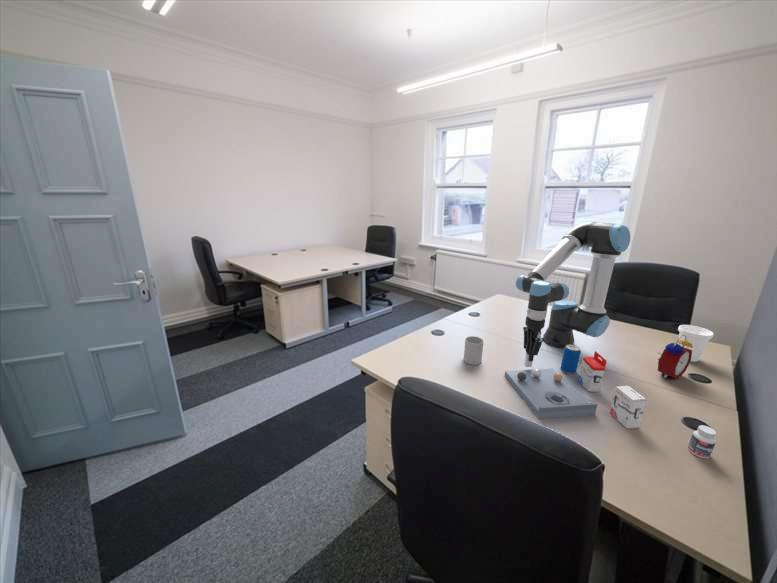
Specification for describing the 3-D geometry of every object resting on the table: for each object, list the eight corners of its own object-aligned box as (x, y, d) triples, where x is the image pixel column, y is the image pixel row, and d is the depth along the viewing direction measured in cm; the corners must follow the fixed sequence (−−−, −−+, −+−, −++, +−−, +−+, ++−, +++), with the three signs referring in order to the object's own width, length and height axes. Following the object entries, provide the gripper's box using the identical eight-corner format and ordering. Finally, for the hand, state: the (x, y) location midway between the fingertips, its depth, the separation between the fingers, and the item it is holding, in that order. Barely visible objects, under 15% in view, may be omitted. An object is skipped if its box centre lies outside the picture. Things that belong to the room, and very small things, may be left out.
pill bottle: (691, 456, 101) (700, 433, 98) (684, 444, 105) (692, 421, 102) (713, 461, 99) (722, 437, 96) (704, 448, 103) (713, 426, 101)
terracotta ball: (558, 378, 137) (560, 370, 136) (563, 382, 134) (565, 375, 133) (551, 378, 137) (552, 371, 136) (555, 383, 133) (557, 376, 132)
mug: (481, 366, 151) (483, 345, 147) (463, 363, 153) (464, 342, 149) (481, 354, 162) (483, 334, 158) (464, 351, 164) (465, 332, 160)
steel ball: (537, 374, 140) (538, 367, 139) (542, 379, 136) (543, 371, 135) (530, 375, 139) (531, 367, 138) (534, 379, 136) (535, 372, 135)
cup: (703, 357, 159) (713, 329, 154) (703, 367, 150) (714, 338, 145) (671, 349, 167) (679, 322, 162) (669, 358, 158) (678, 330, 154)
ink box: (608, 412, 120) (615, 385, 116) (620, 412, 120) (628, 384, 117) (626, 429, 112) (634, 400, 108) (640, 428, 112) (648, 399, 108)
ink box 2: (577, 380, 140) (583, 350, 136) (588, 380, 140) (595, 350, 135) (588, 392, 132) (595, 360, 127) (600, 392, 132) (607, 360, 127)
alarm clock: (670, 383, 138) (683, 341, 132) (647, 373, 145) (659, 333, 139) (686, 374, 145) (700, 334, 138) (664, 365, 152) (675, 326, 146)
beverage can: (574, 368, 149) (579, 345, 145) (577, 375, 143) (582, 351, 140) (559, 366, 151) (563, 343, 147) (561, 373, 145) (566, 349, 142)
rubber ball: (523, 377, 137) (524, 370, 136) (527, 382, 134) (528, 374, 133) (515, 377, 137) (516, 370, 136) (519, 382, 134) (520, 375, 133)
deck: (504, 375, 143) (505, 366, 142) (551, 373, 145) (552, 364, 144) (539, 418, 117) (540, 408, 115) (595, 414, 119) (597, 404, 117)
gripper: (519, 312, 142) (513, 359, 150) (535, 323, 130) (527, 374, 137) (535, 311, 143) (528, 358, 150) (553, 323, 131) (544, 373, 138)
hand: (528, 366), depth 144 cm, fingers closed
